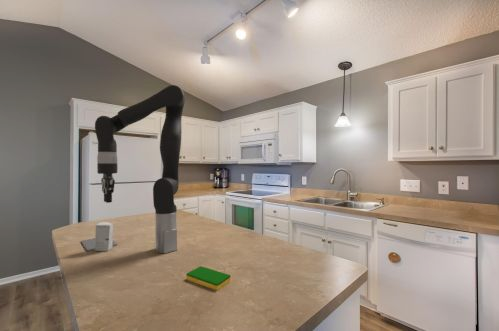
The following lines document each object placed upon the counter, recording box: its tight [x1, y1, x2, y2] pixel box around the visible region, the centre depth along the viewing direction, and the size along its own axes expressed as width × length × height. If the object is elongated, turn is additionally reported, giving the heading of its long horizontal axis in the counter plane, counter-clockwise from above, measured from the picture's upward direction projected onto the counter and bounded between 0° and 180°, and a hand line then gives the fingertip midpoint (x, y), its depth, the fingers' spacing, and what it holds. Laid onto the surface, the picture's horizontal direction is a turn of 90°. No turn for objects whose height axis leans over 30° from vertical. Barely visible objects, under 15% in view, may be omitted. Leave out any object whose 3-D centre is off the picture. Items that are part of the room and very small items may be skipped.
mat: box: [80, 237, 118, 252], centre depth 117 cm, size 19×12×1 cm, turn 43°
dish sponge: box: [186, 265, 231, 291], centre depth 78 cm, size 7×14×2 cm, turn 58°
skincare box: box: [94, 221, 114, 252], centre depth 107 cm, size 6×4×12 cm
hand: (107, 201), depth 102 cm, fingers open, 3 cm apart
